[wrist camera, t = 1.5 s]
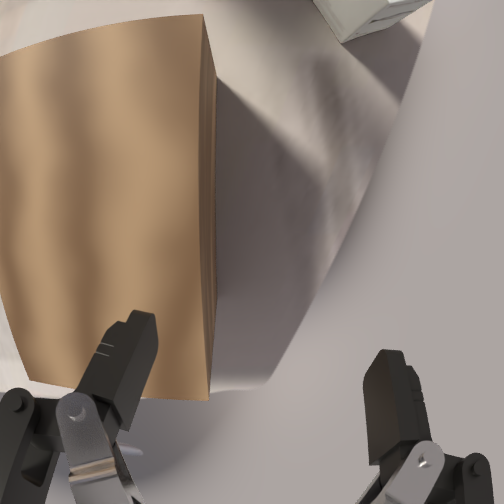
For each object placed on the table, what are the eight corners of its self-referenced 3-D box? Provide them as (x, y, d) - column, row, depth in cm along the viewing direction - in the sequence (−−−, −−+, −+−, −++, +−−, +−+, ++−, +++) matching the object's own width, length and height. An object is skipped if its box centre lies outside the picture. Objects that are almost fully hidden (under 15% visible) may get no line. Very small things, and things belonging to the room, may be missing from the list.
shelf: (94, 296, 37) (29, 380, 21) (80, 89, 29) (-14, 62, 13) (217, 299, 38) (208, 400, 22) (216, 76, 30) (202, 14, 14)
